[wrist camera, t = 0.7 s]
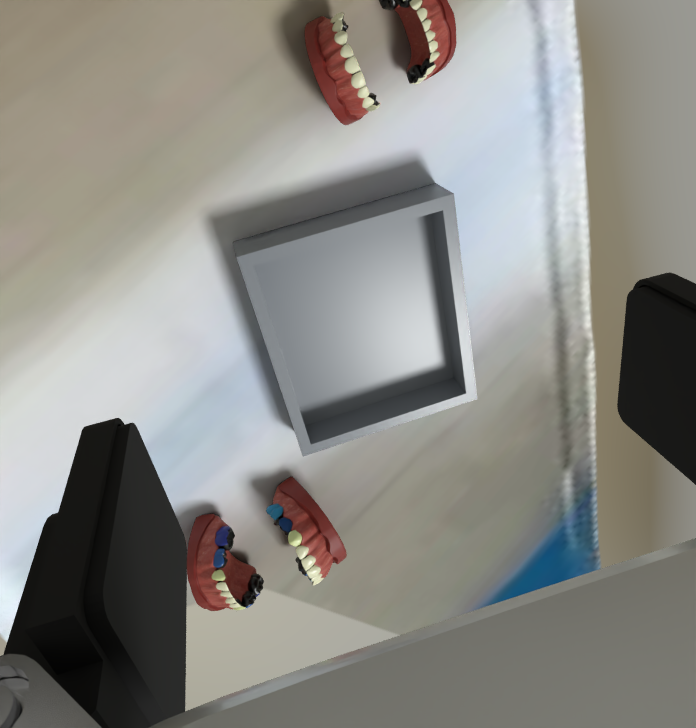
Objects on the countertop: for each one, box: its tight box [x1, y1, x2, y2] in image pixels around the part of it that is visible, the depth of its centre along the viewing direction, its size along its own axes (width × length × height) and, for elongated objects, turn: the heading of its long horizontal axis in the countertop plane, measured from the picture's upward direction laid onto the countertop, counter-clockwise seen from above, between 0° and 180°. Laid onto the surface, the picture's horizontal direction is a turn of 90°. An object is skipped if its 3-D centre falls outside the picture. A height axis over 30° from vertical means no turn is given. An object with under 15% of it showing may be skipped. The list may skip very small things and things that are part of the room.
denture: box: [305, 0, 456, 125], centre depth 31 cm, size 6×4×8 cm
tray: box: [233, 183, 477, 456], centre depth 40 cm, size 16×14×3 cm
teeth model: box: [187, 477, 347, 611], centre depth 46 cm, size 8×6×12 cm
